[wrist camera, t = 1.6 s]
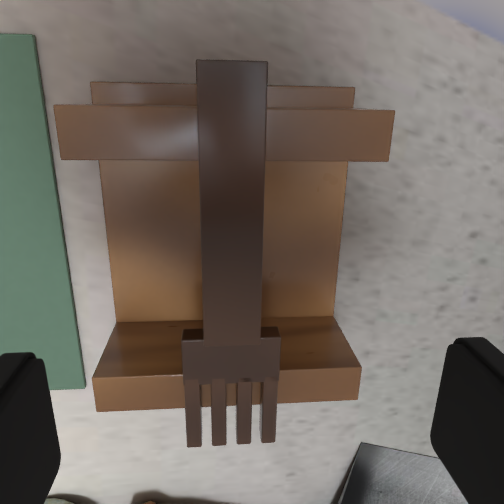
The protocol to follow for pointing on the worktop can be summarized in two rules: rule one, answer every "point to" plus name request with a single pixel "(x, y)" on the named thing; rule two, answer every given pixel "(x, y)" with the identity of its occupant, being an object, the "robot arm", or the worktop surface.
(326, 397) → the rack
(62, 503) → the soupspoon
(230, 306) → the fork
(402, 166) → the worktop surface
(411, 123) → the worktop surface
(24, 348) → the mat
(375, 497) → the meat cleaver
